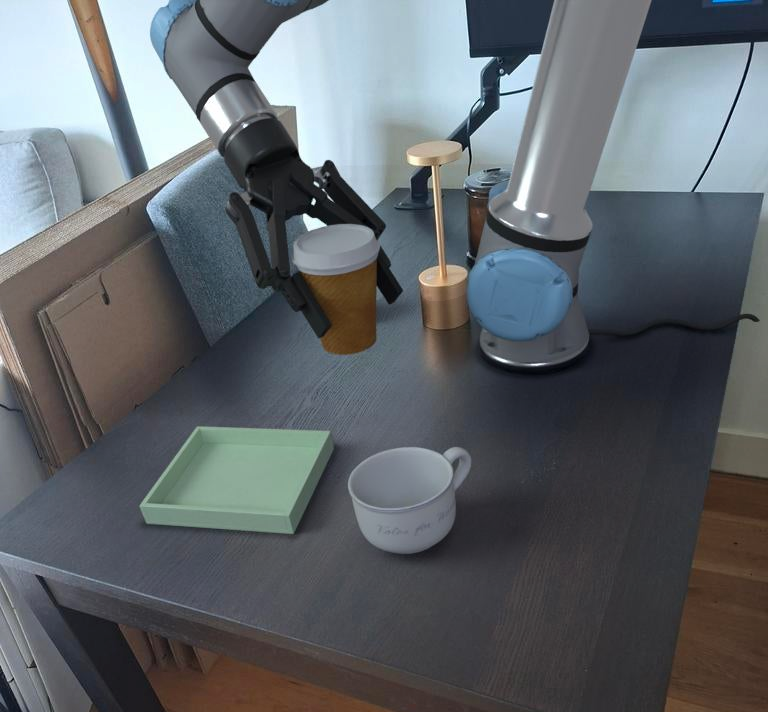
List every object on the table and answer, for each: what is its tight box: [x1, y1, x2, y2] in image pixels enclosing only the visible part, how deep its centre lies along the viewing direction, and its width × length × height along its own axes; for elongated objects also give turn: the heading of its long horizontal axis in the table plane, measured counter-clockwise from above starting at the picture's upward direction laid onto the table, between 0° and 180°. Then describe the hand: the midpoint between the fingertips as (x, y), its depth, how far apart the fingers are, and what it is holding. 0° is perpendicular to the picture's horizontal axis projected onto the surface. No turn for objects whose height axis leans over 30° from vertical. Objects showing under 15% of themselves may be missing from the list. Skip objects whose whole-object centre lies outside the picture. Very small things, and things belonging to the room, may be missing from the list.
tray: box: [138, 425, 335, 535], centre depth 91 cm, size 18×16×3 cm
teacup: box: [347, 446, 472, 555], centre depth 79 cm, size 14×11×8 cm
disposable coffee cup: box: [290, 224, 381, 356], centre depth 84 cm, size 10×10×12 cm
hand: (361, 314), depth 83 cm, fingers closed on disposable coffee cup, 9 cm apart
